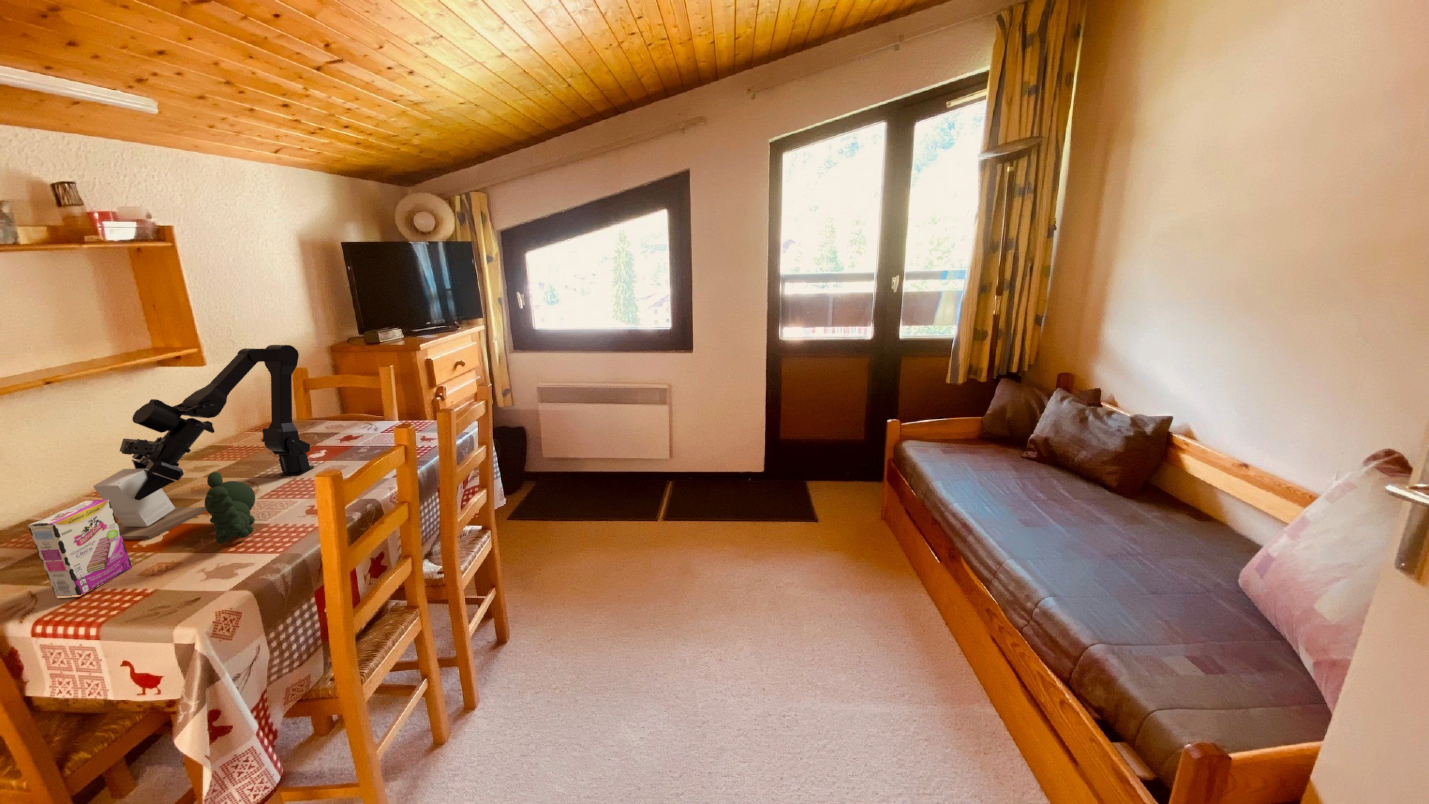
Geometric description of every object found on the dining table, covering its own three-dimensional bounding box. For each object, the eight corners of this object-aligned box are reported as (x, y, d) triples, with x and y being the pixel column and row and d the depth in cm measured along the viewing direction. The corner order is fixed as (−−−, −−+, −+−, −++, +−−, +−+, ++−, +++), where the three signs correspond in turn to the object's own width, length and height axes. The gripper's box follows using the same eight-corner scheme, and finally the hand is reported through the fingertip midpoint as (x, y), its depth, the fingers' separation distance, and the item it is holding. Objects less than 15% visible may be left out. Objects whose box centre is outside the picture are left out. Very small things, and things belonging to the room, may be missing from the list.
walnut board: (207, 510, 145) (206, 506, 145) (149, 539, 130) (148, 535, 130) (153, 511, 145) (152, 507, 145) (89, 540, 131) (88, 536, 131)
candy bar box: (83, 598, 108) (52, 523, 104) (55, 600, 108) (24, 525, 103) (135, 566, 119) (110, 498, 114) (111, 568, 119) (84, 499, 114)
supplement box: (176, 508, 140) (149, 467, 135) (147, 527, 134) (116, 486, 128) (152, 507, 142) (124, 467, 136) (122, 527, 135) (90, 485, 129)
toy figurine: (262, 548, 128) (261, 504, 146) (240, 476, 121) (241, 439, 140) (209, 563, 122) (214, 515, 140) (182, 489, 116) (191, 448, 134)
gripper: (132, 419, 139) (83, 474, 134) (150, 430, 129) (97, 490, 123) (182, 439, 148) (138, 491, 142) (203, 451, 137) (156, 508, 132)
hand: (132, 495), depth 134 cm, fingers closed on supplement box, 9 cm apart
